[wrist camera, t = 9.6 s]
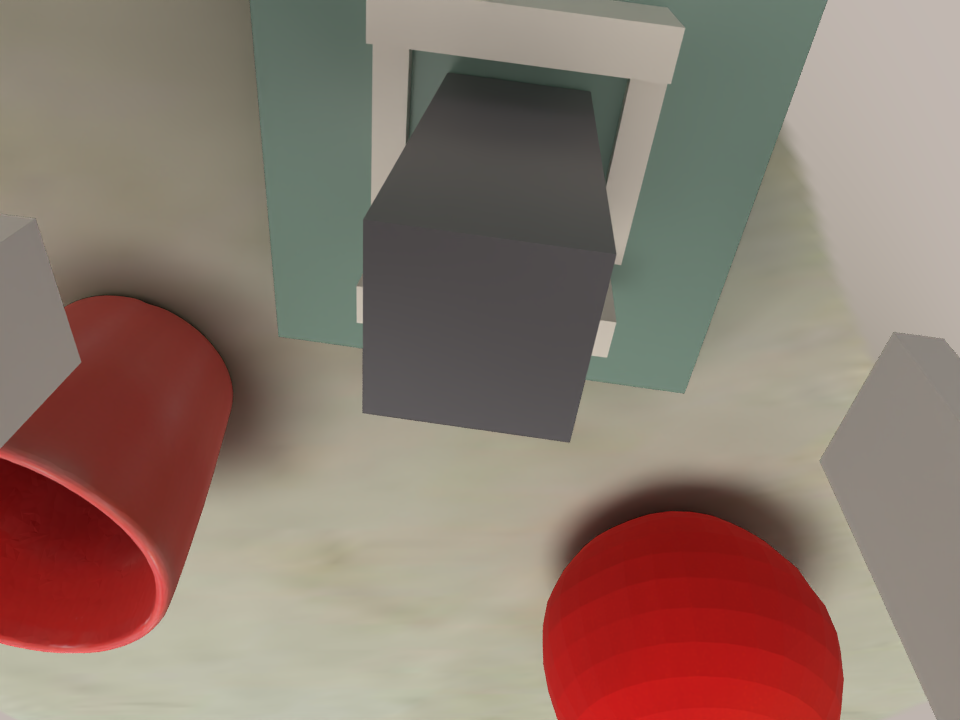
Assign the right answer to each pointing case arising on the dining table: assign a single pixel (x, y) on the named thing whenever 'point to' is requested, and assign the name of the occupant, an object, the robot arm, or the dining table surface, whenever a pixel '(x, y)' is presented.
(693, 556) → the tomato
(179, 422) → the flower pot
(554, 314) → the plug
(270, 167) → the board
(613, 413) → the dining table surface
